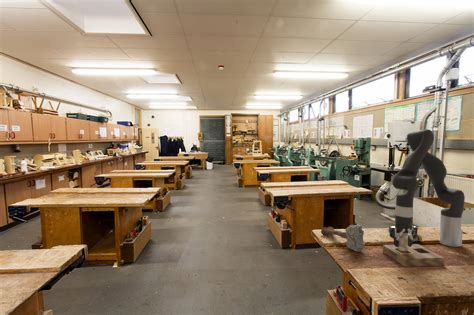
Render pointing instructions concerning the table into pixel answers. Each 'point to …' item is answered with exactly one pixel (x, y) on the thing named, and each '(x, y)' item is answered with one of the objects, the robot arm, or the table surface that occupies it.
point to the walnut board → (414, 256)
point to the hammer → (349, 236)
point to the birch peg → (403, 243)
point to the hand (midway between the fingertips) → (402, 246)
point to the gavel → (416, 238)
